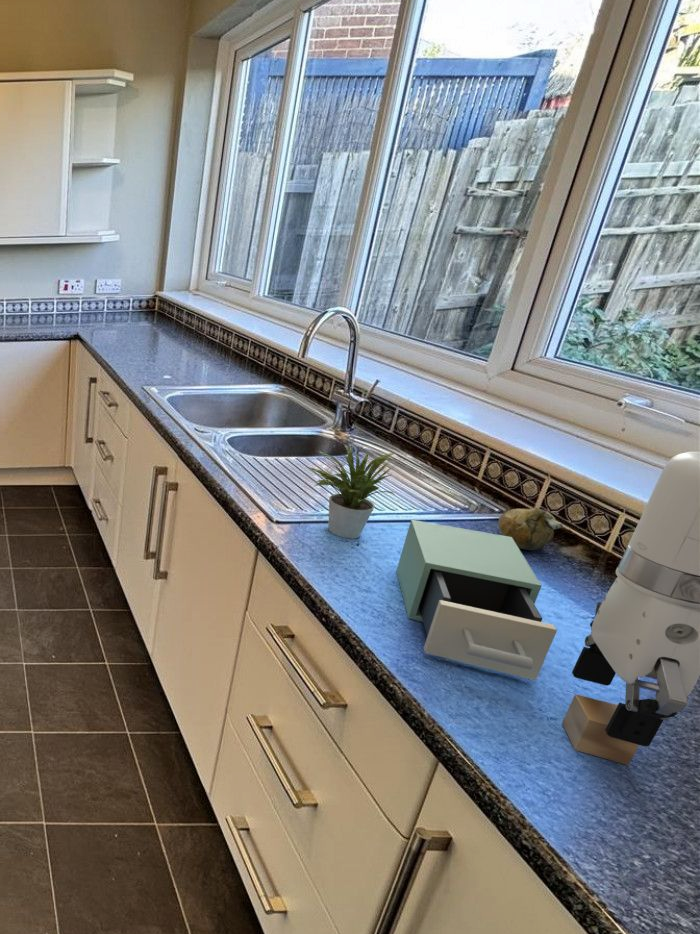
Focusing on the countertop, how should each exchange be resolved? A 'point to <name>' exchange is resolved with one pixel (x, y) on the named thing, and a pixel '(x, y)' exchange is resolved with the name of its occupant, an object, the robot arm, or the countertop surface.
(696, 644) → the robot arm
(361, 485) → the house plant
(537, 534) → the onion
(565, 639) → the countertop surface
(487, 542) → the green drawer box
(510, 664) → the beige cabinet drawer
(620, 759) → the block
